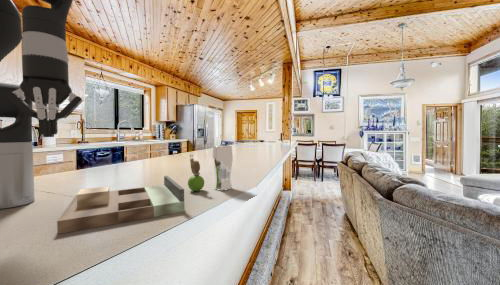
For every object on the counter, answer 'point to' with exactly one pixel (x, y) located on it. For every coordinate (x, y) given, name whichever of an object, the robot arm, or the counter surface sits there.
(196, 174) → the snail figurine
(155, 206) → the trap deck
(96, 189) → the block
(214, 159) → the beer glass
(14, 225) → the counter surface
